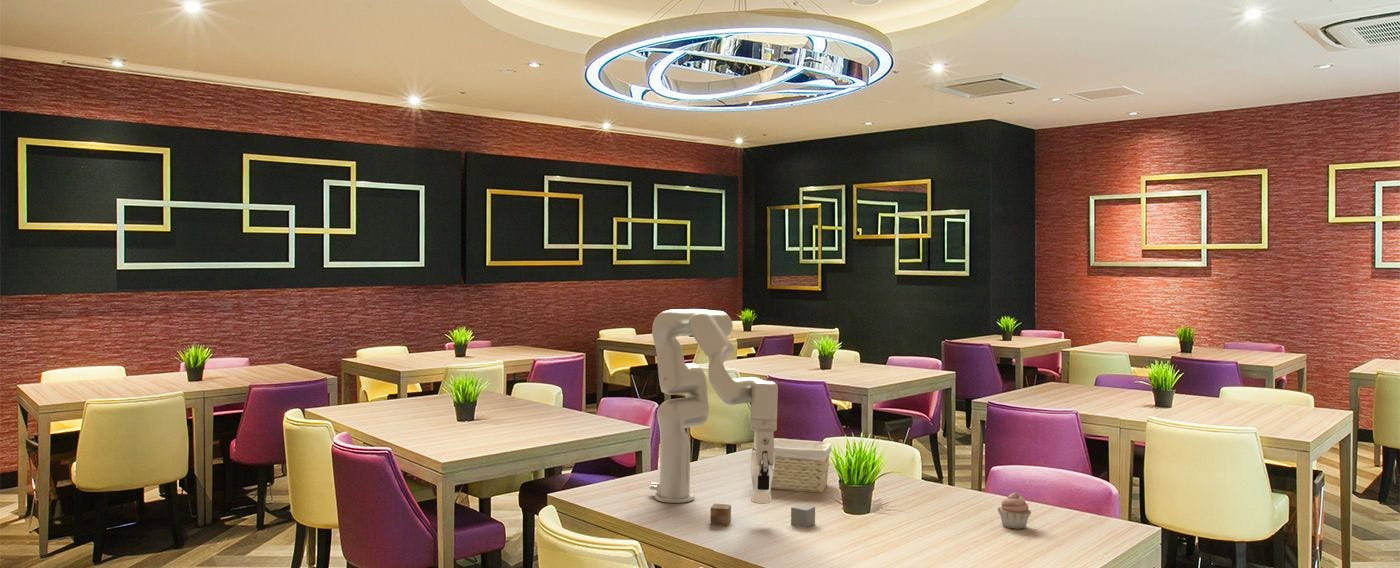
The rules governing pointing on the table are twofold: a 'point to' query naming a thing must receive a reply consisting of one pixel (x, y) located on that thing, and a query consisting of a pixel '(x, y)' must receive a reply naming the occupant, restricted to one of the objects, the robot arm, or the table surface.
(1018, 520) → the cupcake
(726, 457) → the table surface
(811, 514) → the slate-grey block
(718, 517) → the walnut block
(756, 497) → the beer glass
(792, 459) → the storage basket
